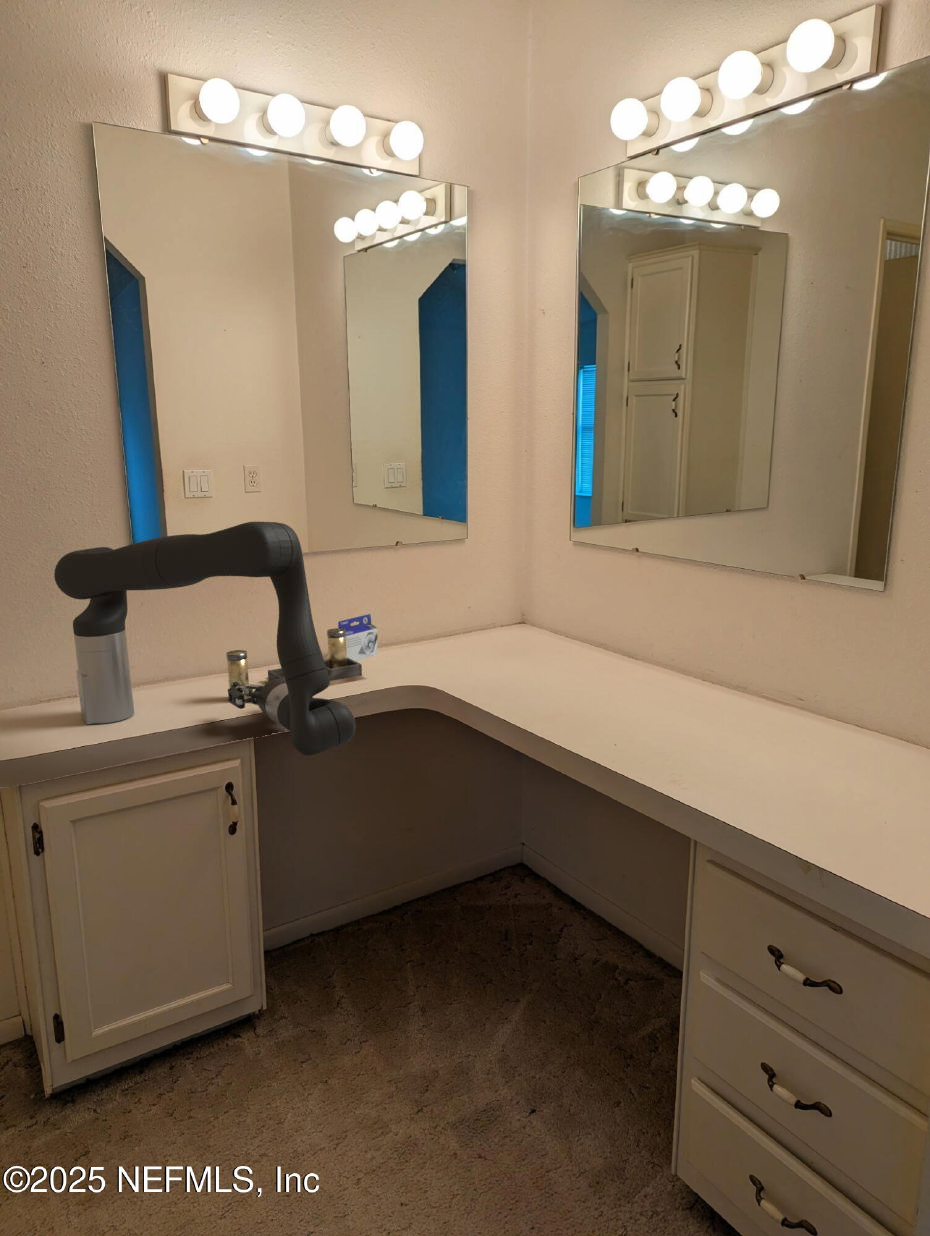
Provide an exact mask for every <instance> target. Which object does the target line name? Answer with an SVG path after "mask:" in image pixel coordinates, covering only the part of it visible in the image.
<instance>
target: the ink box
mask: <svg viewBox="0 0 930 1236" xmlns="http://www.w3.org/2000/svg"><path fill="white" fill-rule="evenodd" d="M354 623H357V624H354ZM351 624H354V625H351ZM337 628H342V629H346V647H347V658H349V659H352V660H354V661H356V662H360V661H363V660H366V659H368V658H373V657H374V656H377V655H378V627H377V626H375V625H374V624H372V616H371V613H368V614H363V615H359V616H356V617H350V618H347V619H344V620H343V619H342V620H339V621H338V622H337Z"/></svg>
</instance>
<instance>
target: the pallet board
mask: <svg viewBox="0 0 930 1236" xmlns="http://www.w3.org/2000/svg"><path fill="white" fill-rule="evenodd" d="M324 662H325V665H326V669H327V672H328V675H329V679H330V685H329V687H330V686H336V685H342V684H347V683H352V682H359V681H364V680H367V679H368V678H366V677H365V676H362V675H363V672H362V671H363V666H362V664H361V663H360V662H359V661H357V662H356V661H354V660H352V659H349V658H347V666H344V667H339V668H333V669H330V668H329V659H327V660H324ZM275 675H281V676H283V677H284V675H283V672H282V668H281V667H279V668H274V669H269V670H267V677H265V679H266V680H267V681H268V682H269V681H271V680H274V679H275ZM268 682H267V683H268Z"/></svg>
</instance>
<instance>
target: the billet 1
mask: <svg viewBox="0 0 930 1236" xmlns="http://www.w3.org/2000/svg"><path fill="white" fill-rule="evenodd" d="M225 656H226V661H227V662H226V663H227V676H228V687H229V688H228V689H230V688H231V685H233V682H238V683H239V684H241V685H242V686H248V685H250V681H249V677H250V676H249V665H248V652H247V650H243V649H234V650H230V651H226V655H225ZM243 693H244V696H246V691H243Z"/></svg>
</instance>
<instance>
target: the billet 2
mask: <svg viewBox="0 0 930 1236" xmlns="http://www.w3.org/2000/svg"><path fill="white" fill-rule="evenodd" d="M326 636H327V647H328V648H327V650H328V660H329V668H330V669H333V668H339V667H344V666H347V647H346V629H342V628H338V627H337V628H331V629H330V628H329V629H327V630H326Z"/></svg>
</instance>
